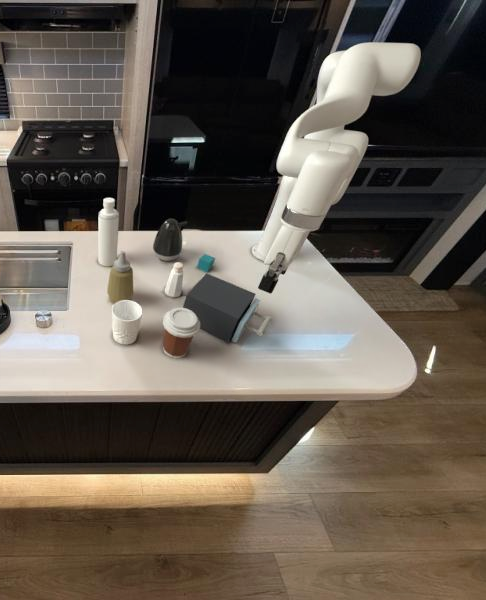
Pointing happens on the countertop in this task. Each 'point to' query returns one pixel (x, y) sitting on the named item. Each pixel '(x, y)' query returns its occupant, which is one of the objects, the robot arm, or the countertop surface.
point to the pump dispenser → (168, 240)
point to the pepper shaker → (175, 281)
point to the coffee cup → (179, 331)
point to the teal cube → (205, 262)
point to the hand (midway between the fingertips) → (271, 281)
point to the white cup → (126, 321)
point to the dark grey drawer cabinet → (218, 306)
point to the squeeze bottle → (120, 280)
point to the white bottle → (108, 233)
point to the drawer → (246, 320)
